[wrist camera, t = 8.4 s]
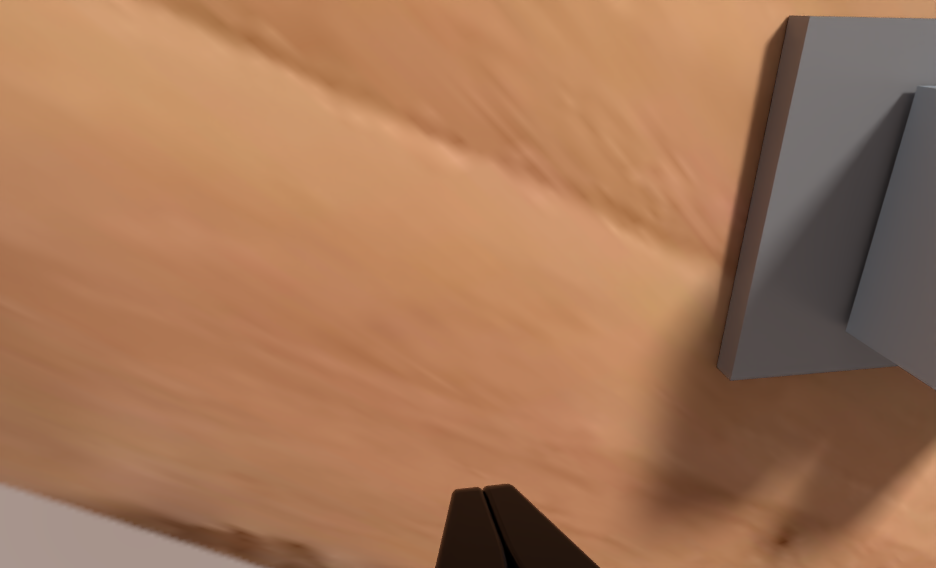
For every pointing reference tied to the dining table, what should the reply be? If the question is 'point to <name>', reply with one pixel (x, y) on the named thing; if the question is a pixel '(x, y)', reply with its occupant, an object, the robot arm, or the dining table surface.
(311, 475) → the dining table surface
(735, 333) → the plate
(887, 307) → the blue-gray rectangular block
